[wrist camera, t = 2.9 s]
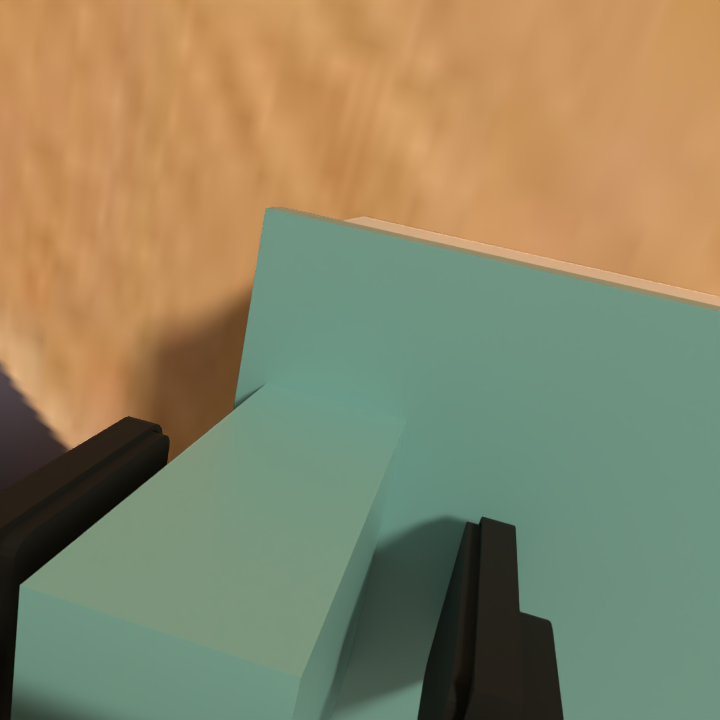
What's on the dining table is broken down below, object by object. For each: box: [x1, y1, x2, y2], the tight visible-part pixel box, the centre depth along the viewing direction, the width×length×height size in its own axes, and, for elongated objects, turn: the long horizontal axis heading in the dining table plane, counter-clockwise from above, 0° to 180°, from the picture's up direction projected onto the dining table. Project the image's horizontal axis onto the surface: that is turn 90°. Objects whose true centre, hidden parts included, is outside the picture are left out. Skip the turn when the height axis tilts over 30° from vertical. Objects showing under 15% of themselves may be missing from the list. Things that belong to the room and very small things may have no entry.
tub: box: [342, 216, 720, 306], centre depth 14 cm, size 14×10×6 cm
